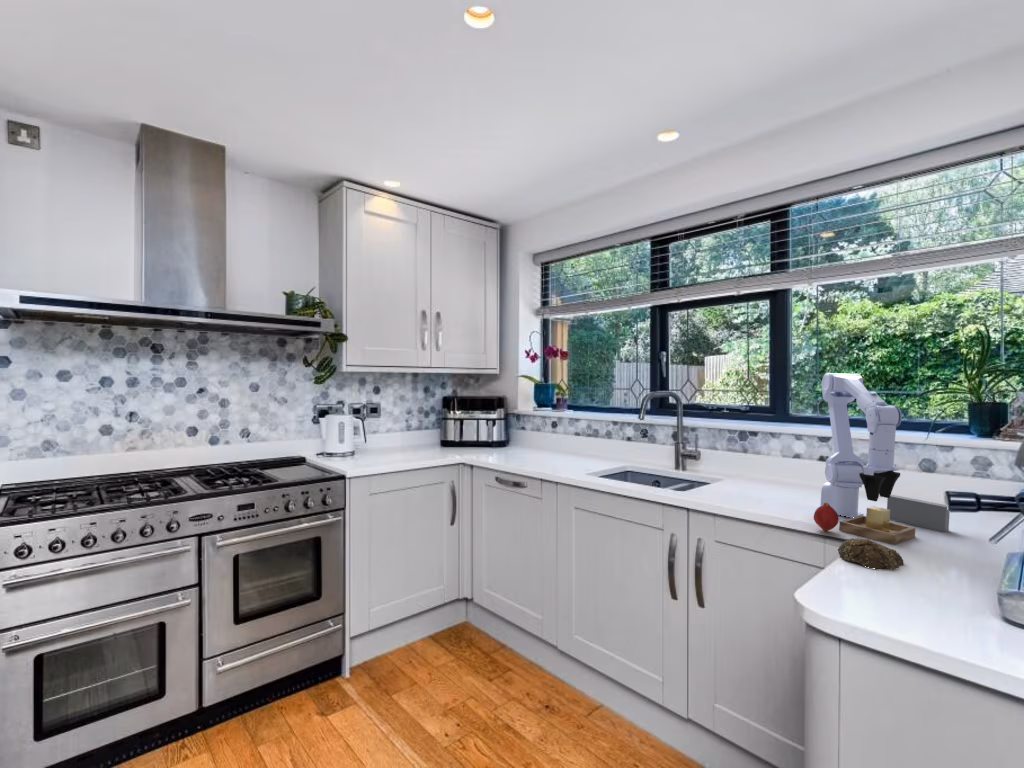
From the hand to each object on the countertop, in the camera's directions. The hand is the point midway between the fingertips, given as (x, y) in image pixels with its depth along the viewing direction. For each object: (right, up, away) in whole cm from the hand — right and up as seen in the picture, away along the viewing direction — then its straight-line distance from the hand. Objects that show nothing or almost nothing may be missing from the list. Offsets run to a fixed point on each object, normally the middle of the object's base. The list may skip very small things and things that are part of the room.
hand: (878, 498), depth 140 cm
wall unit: (+18, -10, +9) cm, 22 cm away
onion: (-14, -9, 0) cm, 17 cm away
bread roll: (-17, -10, -21) cm, 29 cm away
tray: (-1, -9, 0) cm, 9 cm away
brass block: (-1, -9, -1) cm, 9 cm away
